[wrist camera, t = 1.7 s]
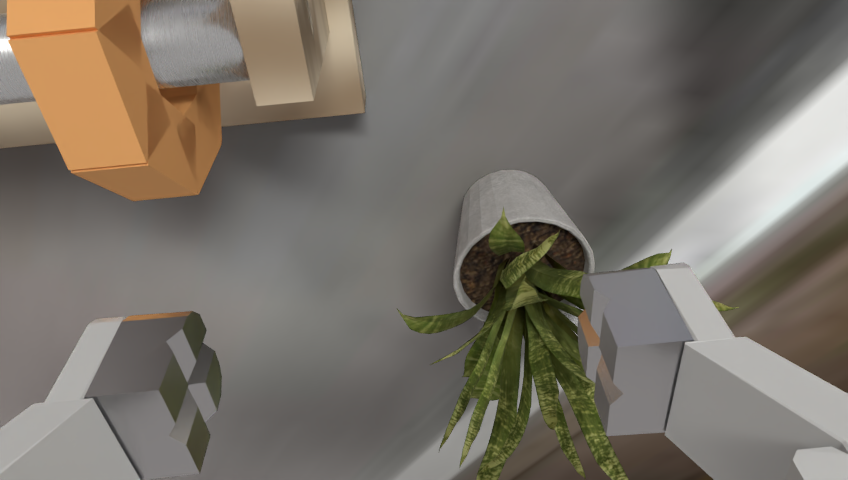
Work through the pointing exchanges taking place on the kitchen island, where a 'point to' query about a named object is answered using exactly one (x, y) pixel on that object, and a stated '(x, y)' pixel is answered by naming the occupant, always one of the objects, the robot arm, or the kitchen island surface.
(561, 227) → the house plant
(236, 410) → the kitchen island surface
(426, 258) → the kitchen island surface
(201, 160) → the orange faceted ring
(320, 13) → the pipe stand
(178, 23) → the steel pipe
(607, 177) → the kitchen island surface
